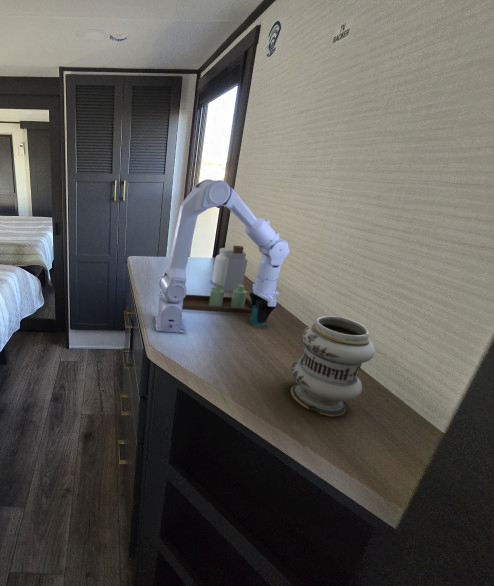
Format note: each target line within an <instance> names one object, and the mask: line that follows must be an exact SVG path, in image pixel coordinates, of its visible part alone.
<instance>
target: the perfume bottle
mask: <svg viewBox="0 0 494 586" xmlns="http://www.w3.org/2000/svg"><path fill="white" fill-rule="evenodd" d="M244 248H245V247H244V246H242V245H233V246H232V249H233V250H229V255H226V260H225V265H224V271H223V277H222V283H221V284H222V286H221V288H222V289H224V291H232V292H233V290H234V289H237V288H238V285H244V281H245V275H246V270H247V266H248V259H247V258H246V256H247V253H246V252H245V251H244V250H245V249H244Z"/></svg>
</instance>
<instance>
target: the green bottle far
mask: <svg viewBox="0 0 494 586" xmlns="http://www.w3.org/2000/svg"><path fill="white" fill-rule="evenodd" d="M247 294H248V291H247V290H245V285H244V284H243V285H238V288H237V289H234V290H233V291H232V296H231V297H232V300H231V305H230V306H231V307H232V308H244V305H245V300H246V298H247Z"/></svg>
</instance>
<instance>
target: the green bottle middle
mask: <svg viewBox="0 0 494 586" xmlns="http://www.w3.org/2000/svg"><path fill="white" fill-rule="evenodd" d="M221 286H222V284H219V283H216V284H214V287H211V289H210V294H209V296H210V300H209V306H216V307H222V302H223V297H225V296H224V295H225V290H224V289H223V288H222V287H221Z"/></svg>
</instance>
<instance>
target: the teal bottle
mask: <svg viewBox="0 0 494 586" xmlns="http://www.w3.org/2000/svg"><path fill="white" fill-rule="evenodd" d="M257 313H258V309H257V305H254V306H253V309H252V313H251V314H250V318H249V323H250V324H252V325H254V326H257V327H263V326H265V325H266V322H267V321H266V322H265V323H261V322H257Z"/></svg>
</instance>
